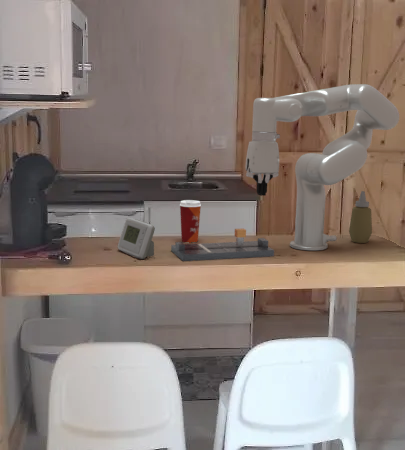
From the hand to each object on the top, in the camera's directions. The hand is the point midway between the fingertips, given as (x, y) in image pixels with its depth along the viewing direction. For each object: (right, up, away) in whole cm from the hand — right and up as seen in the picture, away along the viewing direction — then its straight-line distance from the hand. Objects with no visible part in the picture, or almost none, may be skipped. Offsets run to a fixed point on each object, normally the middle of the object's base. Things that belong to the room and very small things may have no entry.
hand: (261, 195), depth 212 cm
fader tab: (-7, -16, +1) cm, 18 cm away
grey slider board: (-13, -19, 0) cm, 23 cm away
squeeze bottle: (+37, -16, +22) cm, 46 cm away
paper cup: (-23, -15, +17) cm, 33 cm away
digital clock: (-40, -19, -3) cm, 45 cm away
